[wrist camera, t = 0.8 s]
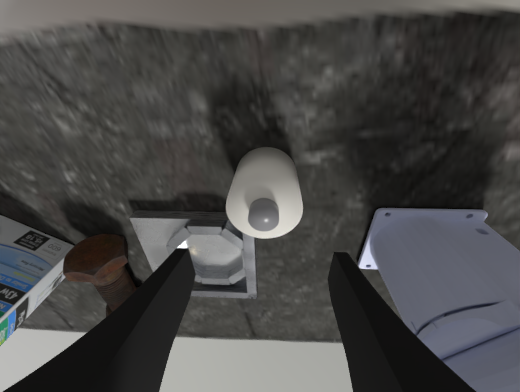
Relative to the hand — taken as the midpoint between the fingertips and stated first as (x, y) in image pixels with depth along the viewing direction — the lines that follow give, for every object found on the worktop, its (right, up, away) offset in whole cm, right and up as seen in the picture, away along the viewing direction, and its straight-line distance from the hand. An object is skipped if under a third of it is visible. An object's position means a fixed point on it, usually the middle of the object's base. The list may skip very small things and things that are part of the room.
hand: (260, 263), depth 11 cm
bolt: (-17, -7, +17) cm, 25 cm away
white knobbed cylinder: (+1, +5, +8) cm, 10 cm away
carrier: (-6, -2, +13) cm, 15 cm away
